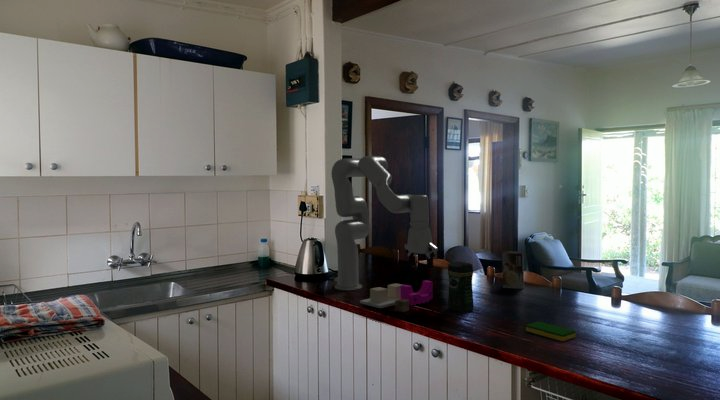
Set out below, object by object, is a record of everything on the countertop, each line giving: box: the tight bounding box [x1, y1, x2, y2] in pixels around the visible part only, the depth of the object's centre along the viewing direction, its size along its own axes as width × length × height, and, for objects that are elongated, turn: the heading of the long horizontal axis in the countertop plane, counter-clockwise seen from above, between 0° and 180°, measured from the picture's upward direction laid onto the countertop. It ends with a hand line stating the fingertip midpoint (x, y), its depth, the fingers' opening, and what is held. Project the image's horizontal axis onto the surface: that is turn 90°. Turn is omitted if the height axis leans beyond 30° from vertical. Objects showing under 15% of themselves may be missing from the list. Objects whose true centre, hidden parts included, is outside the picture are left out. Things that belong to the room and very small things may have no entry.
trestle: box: [359, 283, 403, 309], centre depth 214 cm, size 12×20×6 cm, turn 132°
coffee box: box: [501, 250, 525, 290], centre depth 237 cm, size 9×6×16 cm
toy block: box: [401, 280, 434, 307], centre depth 213 cm, size 15×6×8 cm, turn 129°
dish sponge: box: [525, 321, 576, 342], centre depth 168 cm, size 7×14×2 cm, turn 35°
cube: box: [394, 299, 410, 313], centre depth 200 cm, size 4×4×4 cm
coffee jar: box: [447, 260, 474, 313], centre depth 200 cm, size 10×8×19 cm
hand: (421, 266), depth 212 cm, fingers open, 9 cm apart
